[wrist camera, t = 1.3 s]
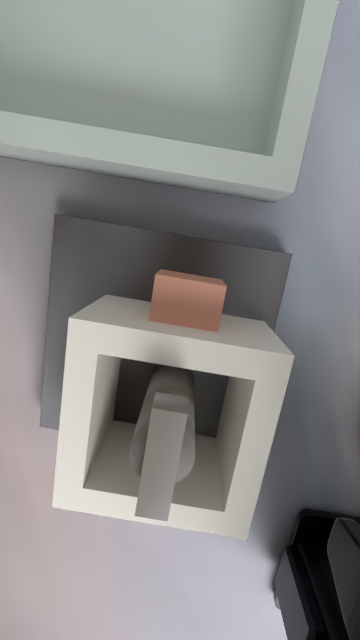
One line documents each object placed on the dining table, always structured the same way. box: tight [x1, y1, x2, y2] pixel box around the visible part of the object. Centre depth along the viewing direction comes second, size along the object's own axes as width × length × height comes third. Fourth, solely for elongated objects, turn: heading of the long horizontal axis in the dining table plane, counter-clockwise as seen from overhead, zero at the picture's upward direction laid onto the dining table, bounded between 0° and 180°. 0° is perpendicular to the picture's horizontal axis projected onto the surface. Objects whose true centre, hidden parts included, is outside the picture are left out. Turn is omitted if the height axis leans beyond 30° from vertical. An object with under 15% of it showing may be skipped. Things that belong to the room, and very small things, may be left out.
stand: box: [40, 214, 292, 522], centre depth 13 cm, size 10×10×7 cm
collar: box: [52, 269, 295, 540], centre depth 13 cm, size 7×9×4 cm
